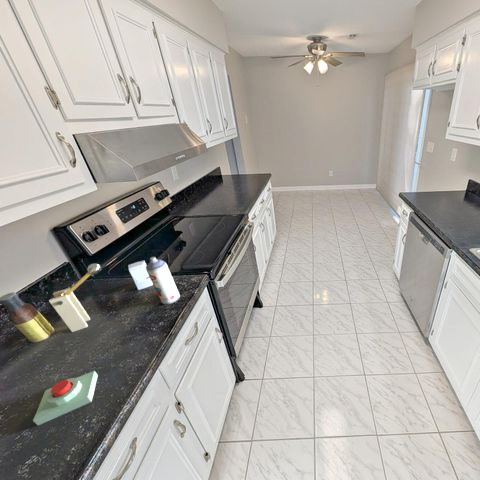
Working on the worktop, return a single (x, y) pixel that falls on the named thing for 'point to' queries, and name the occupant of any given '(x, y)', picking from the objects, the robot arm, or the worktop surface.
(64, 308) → the lock bracket
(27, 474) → the worktop surface
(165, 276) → the aerosol can
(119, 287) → the worktop surface
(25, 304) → the sauce bottle
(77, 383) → the box
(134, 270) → the cosmetic box
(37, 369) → the worktop surface
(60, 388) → the release button
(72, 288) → the lever
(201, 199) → the worktop surface
